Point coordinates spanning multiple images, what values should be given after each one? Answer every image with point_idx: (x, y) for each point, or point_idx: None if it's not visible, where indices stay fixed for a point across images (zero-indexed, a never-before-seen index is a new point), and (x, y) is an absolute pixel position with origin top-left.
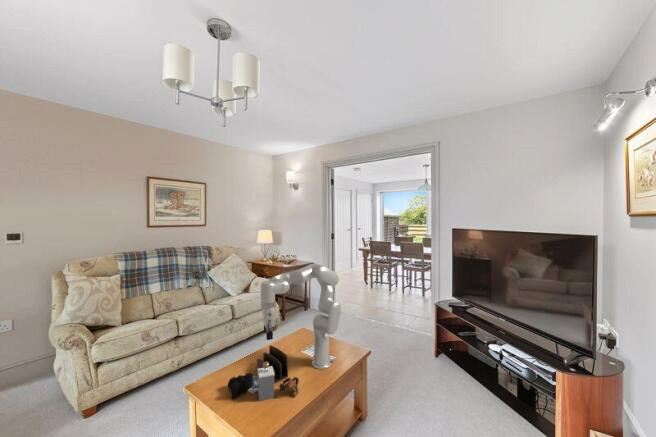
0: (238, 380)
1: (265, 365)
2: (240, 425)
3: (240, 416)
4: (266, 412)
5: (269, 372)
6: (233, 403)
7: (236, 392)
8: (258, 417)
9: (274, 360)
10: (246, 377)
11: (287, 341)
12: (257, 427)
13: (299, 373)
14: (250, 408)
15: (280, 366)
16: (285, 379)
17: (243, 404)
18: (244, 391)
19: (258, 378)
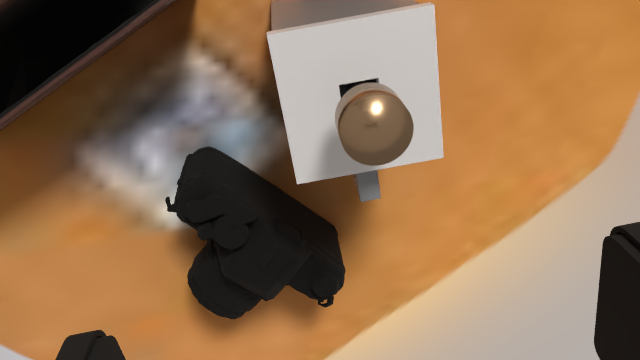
0: (291, 274)
1: (409, 130)
2: (565, 168)
3: (495, 179)
4: (513, 31)
5: (393, 61)
6: (372, 232)
7: (335, 246)
8: (540, 78)
9: (8, 1)
10: (248, 226)
11: None
12: (618, 77)
13: None
14: (444, 134)
15: None
16: None
17: (395, 178)
18: (281, 193)
19: None
